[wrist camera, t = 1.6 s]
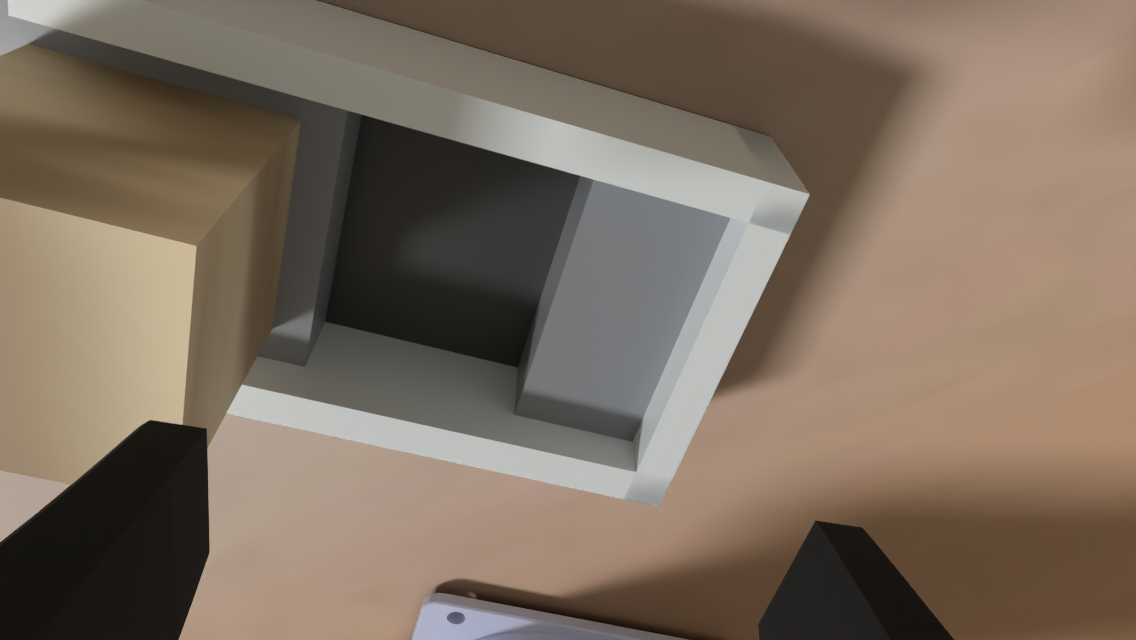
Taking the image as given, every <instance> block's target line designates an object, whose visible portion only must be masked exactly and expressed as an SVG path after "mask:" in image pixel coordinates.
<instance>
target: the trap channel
mask: <svg viewBox="0 0 1136 640" xmlns="http://www.w3.org/2000/svg"><path fill="white" fill-rule="evenodd" d="M26 44H31V45H34V46H38V47H41V48H45V49H49V50H52V51H56V52H60V53H63V54H67V55H70V56H74V57H78V58H81V59H85V60H89V61H92V62H96V63H99V64H103V65H107V66H110V67H114V68H118V69H121V70H125V71H128V72H132V73H136V74H139V75H143V76H146V77H150V78H154V79H157V80H161V81H165V82H168V83H172V84H175V85H179V86H183V87H186V88H190V89H194V90H197V91H201V92H204V93H208V94H212V95H215V96H219V97H223V98H226V99H230V100H233V101H237V102H241V103H244V104H248V105H252V106H255V107H259V108H262V109H266V110H270V111H273V112H277V113H280V114H284V115H288V116H291V117H295V118H299V119H301V126H300V133H299V140H298V147H297V155H296V162H295V169H294V176H293V183H292V191H291V198H290V205H289V212H288V219H287V227H286V234H285V241H284V248H283V255H282V262H281V270H280V277H279V284H278V291H277V298H276V306H275V313H274V320H273V327H272V330H271V332H270V334H269V336H268V338H267V339H266V341H265V343H264V345H263V347H262V349H261V350H260V352H259V354H258V356H257V358H256V360H255V361H254V363H253V365H252V367H251V369H250V371H249V372H248V374H247V376H246V378H245V380H244V382H243V383H242V385H241V387H240V389H239V391H238V393H237V394H236V396H235V398H234V400H233V402H232V404H231V405H230V407H229V409H228V411H227V414H232V415H236V416H241V417H246V418H250V419H255V420H259V421H264V422H269V423H273V424H278V425H283V426H287V427H292V428H296V429H301V430H306V431H310V432H315V433H320V434H324V435H329V436H334V437H338V438H343V439H347V440H352V441H357V442H361V443H366V444H371V445H375V446H380V447H384V448H389V449H394V450H398V451H403V452H408V453H412V454H417V455H421V456H426V457H431V458H435V459H440V460H445V461H449V462H454V463H459V464H463V465H468V466H472V467H477V468H482V469H486V470H491V471H496V472H500V473H505V474H509V475H514V476H519V477H523V478H528V479H533V480H537V481H542V482H546V483H551V484H556V485H560V486H565V487H570V488H574V489H579V490H584V491H588V492H593V493H597V494H602V495H607V496H611V497H616V498H621V499H625V500H630V501H634V502H639V503H644V504H648V505H653V506H658V507H659V506H660V503H661V501H662V499H663V497H664V495H665V493H666V491H667V489H668V487H669V485H670V483H671V481H672V479H673V477H674V475H675V472H676V470H677V468H678V466H679V464H680V462H681V460H682V458H683V456H684V454H685V452H686V450H687V448H688V446H689V444H690V441H691V439H692V437H693V435H694V433H695V431H696V429H697V427H698V425H699V423H700V421H701V419H702V417H703V415H704V413H705V410H706V408H707V406H708V404H709V402H710V400H711V398H712V396H713V394H714V392H715V390H716V388H717V386H718V384H719V381H720V379H721V377H722V375H723V373H724V371H725V369H726V367H727V365H728V363H729V361H730V359H731V357H732V355H733V353H734V350H735V348H736V346H737V344H738V342H739V340H740V338H741V336H742V334H743V332H744V330H745V328H746V326H747V324H748V322H749V319H750V317H751V315H752V313H753V311H754V309H755V307H756V305H757V303H758V301H759V299H760V297H761V295H762V293H763V291H764V288H765V286H766V284H767V282H768V280H769V278H770V276H771V274H772V272H773V270H774V268H775V266H776V264H777V262H778V259H779V257H780V255H781V253H782V251H783V249H784V247H785V245H786V243H787V241H788V239H789V237H790V235H791V233H792V231H793V228H794V226H795V224H796V222H797V220H798V218H799V216H800V214H801V212H802V210H803V208H804V206H805V204H806V202H807V200H808V197H809V195H810V194H809V192H808V191H807V189H806V188H805V186H804V185H803V183H802V182H801V180H800V179H799V177H798V176H797V174H796V173H795V171H794V170H793V169H792V167H791V166H790V164H789V163H788V161H787V160H786V158H785V157H784V155H783V154H782V152H781V151H780V149H779V148H778V146H777V145H776V143H775V142H774V140H773V139H772V137H770V136H767V135H763V134H760V133H757V132H753V131H750V130H747V129H743V128H740V127H737V126H733V125H730V124H727V123H723V122H720V121H717V120H713V119H710V118H707V117H703V116H700V115H697V114H693V113H690V112H687V111H683V110H680V109H677V108H673V107H670V106H667V105H663V104H660V103H657V102H653V101H650V100H647V99H643V98H640V97H637V96H633V95H630V94H627V93H623V92H620V91H617V90H613V89H610V88H607V87H603V86H600V85H597V84H593V83H590V82H587V81H583V80H580V79H577V78H573V77H570V76H567V75H563V74H560V73H557V72H553V71H550V70H547V69H543V68H540V67H537V66H533V65H530V64H527V63H523V62H520V61H517V60H513V59H510V58H507V57H503V56H500V55H497V54H493V53H490V52H487V51H483V50H480V49H477V48H473V47H470V46H467V45H463V44H460V43H457V42H453V41H450V40H447V39H443V38H440V37H437V36H433V35H430V34H427V33H423V32H420V31H417V30H413V29H410V28H407V27H403V26H400V25H397V24H393V23H390V22H387V21H383V20H380V19H377V18H373V17H370V16H367V15H363V14H360V13H357V12H353V11H350V10H347V9H343V8H340V7H337V6H333V5H330V4H327V3H323V2H320V1H317V0H0V56H1V55H3V54H6V53H8V52H10V51H13V50H15V49H17V48H19V47H22V46H24V45H26Z"/></svg>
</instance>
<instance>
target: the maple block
mask: <svg viewBox="0 0 1136 640" xmlns="http://www.w3.org/2000/svg"><path fill="white" fill-rule="evenodd" d="M300 126H301V119H299V118H295V117H291V116H288V115H284V114H280V113H277V112H273V111H270V110H266V109H262V108H259V107H255V106H252V105H248V104H244V103H241V102H237V101H233V100H230V99H226V98H223V97H219V96H215V95H212V94H208V93H204V92H201V91H197V90H194V89H190V88H186V87H183V86H179V85H175V84H172V83H168V82H165V81H161V80H157V79H154V78H150V77H146V76H143V75H139V74H136V73H132V72H128V71H125V70H121V69H118V68H114V67H110V66H107V65H103V64H99V63H96V62H92V61H89V60H85V59H81V58H78V57H74V56H70V55H67V54H63V53H60V52H56V51H52V50H49V49H45V48H41V47H38V46H34V45H31V44H26V45H24V46H22V47H19V48H17V49H15V50H13V51H10V52H8V53H6V54H3V55H1V56H0V470H1V471H6V472H12V473H17V474H22V475H27V476H32V477H37V478H42V479H47V480H52V481H57V482H62V483H67V484H73V483H74V482H75V481H76V480H78V479H79V478H80V477H81V476H82V475H83V474H85V473H86V472H87V471H88V470H89V469H90V468H92V467H93V466H94V465H95V464H96V463H97V462H99V461H100V460H101V459H102V458H103V457H104V456H106V455H107V454H108V453H109V452H110V451H111V450H113V449H114V448H115V447H116V446H117V445H118V444H119V443H121V442H122V441H123V440H124V439H125V438H126V437H128V436H129V435H130V434H131V433H132V432H133V431H135V430H136V429H137V428H138V427H139V426H141V425H142V424H144V423H146V422H147V421H149V420H154V421H160V422H167V423H174V424H180V425H187V426H193V427H200V428H207V447H208V446H209V444H210V442H211V440H212V438H213V436H214V435H215V433H216V431H217V429H218V427H219V425H220V424H221V422H222V420H223V418H224V416H225V414H226V413H227V411H228V409H229V407H230V405H231V404H232V402H233V400H234V398H235V396H236V394H237V393H238V391H239V389H240V387H241V385H242V383H243V382H244V380H245V378H246V376H247V374H248V372H249V371H250V369H251V367H252V365H253V363H254V361H255V360H256V358H257V356H258V354H259V352H260V350H261V349H262V347H263V345H264V343H265V341H266V339H267V338H268V336H269V334H270V332H271V330H272V327H273V320H274V313H275V306H276V298H277V291H278V284H279V277H280V270H281V262H282V255H283V248H284V241H285V234H286V227H287V219H288V212H289V205H290V198H291V191H292V183H293V176H294V169H295V162H296V155H297V147H298V140H299V133H300Z"/></svg>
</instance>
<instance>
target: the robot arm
mask: <svg viewBox="0 0 1136 640" xmlns="http://www.w3.org/2000/svg"><path fill="white" fill-rule="evenodd" d="M208 555H209V509H208V462H207V428H200V427H193V426H187V425H180V424H174V423H167V422H160V421H154V420H149V421H147V422H146V423H144V424H142V425H141V426H139V427H138V428H137V429H136V430H135V431H133V432H132V433H131V434H130V435H129V436H128V437H126V438H125V439H124V440H123V441H122V442H121V443H119V444H118V445H117V446H116V447H115V448H114V449H113V450H111V451H110V452H109V453H108V454H107V455H106V456H104V457H103V458H102V459H101V460H100V461H99V462H97V463H96V464H95V465H94V466H93V467H92V468H90V469H89V470H88V471H87V472H86V473H85V474H83V475H82V476H81V477H80V478H79V479H78V480H76V481H75V482H74V483H73V484H72V485H70V486H69V487H68V488H67V489H66V490H64V491H63V492H62V493H61V494H60V495H58V496H57V497H56V498H55V499H54V500H52V501H51V502H50V503H49V504H48V505H46V506H45V507H44V508H43V509H42V510H40V511H39V512H38V513H37V514H35V515H34V516H33V517H32V518H30V519H29V520H28V521H27V522H25V523H24V524H23V525H22V526H20V527H19V528H18V529H17V530H15V531H14V532H13V533H11V534H10V535H9V536H8V537H6V538H5V539H4V540H3V541H1V542H0V640H178V639H179V637H180V634H181V631H182V628H183V626H184V623H185V620H186V617H187V615H188V612H189V609H190V606H191V604H192V601H193V598H194V595H195V592H196V590H197V587H198V584H199V581H200V578H201V575H202V572H203V569H204V566H205V563H206V561H207V558H208ZM455 612H460V613H455ZM758 627H759V637H760V640H954V639H953V638H952V637H951V635H950V634H949V633H948V632H947V631H946V629H945V628H944V627H943V626H942V624H941V623H940V622H939V621H938V619H937V618H936V617H935V616H934V614H933V613H932V612H931V611H930V610H929V608H928V607H927V606H926V605H925V603H924V602H923V601H922V600H921V598H920V597H919V596H918V595H917V593H916V592H915V591H914V590H913V588H912V587H911V586H910V585H909V583H908V582H907V581H906V580H905V579H904V577H903V576H902V575H901V574H900V572H899V571H898V570H897V569H896V567H895V566H894V565H893V564H892V563H891V561H890V560H889V559H888V558H887V556H886V555H885V554H884V553H883V552H882V550H881V549H880V548H879V547H878V546H877V544H876V543H875V542H874V541H873V540H872V539H871V537H870V536H869V535H868V534H867V533H866V532H865V531H864V529H863V528H860V527H853V526H847V525H840V524H834V523H827V522H820V521H815V523H814V525H813V526H812V528H811V530H810V532H809V534H808V535H807V537H806V539H805V541H804V543H803V545H802V546H801V548H800V550H799V552H798V554H797V555H796V557H795V559H794V561H793V563H792V565H791V566H790V568H789V570H788V572H787V574H786V575H785V577H784V579H783V581H782V583H781V585H780V586H779V588H778V590H777V592H776V594H775V595H774V597H773V599H772V601H771V603H770V605H769V606H768V608H767V610H766V612H765V614H764V616H763V617H762V619H761V621H760V623H759V625H758ZM411 640H689V639H683V638H678V637H673V636H668V635H662V634H657V633H652V632H647V631H641V630H636V629H631V628H625V627H620V626H615V625H610V624H604V623H599V622H594V621H588V620H583V619H578V618H573V617H567V616H562V615H557V614H552V613H546V612H541V611H536V610H530V609H525V608H520V607H515V606H509V605H504V604H499V603H494V602H488V601H483V600H478V599H472V598H467V597H462V596H457V595H451V594H446V593H434V594H431V595H429V596H427V597H426V598H425V599H424V601H423V603H422V606H421V610H420V613H419V616H418V619H417V623H416V626H415V629H414V632H413V635H412V639H411Z"/></svg>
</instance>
